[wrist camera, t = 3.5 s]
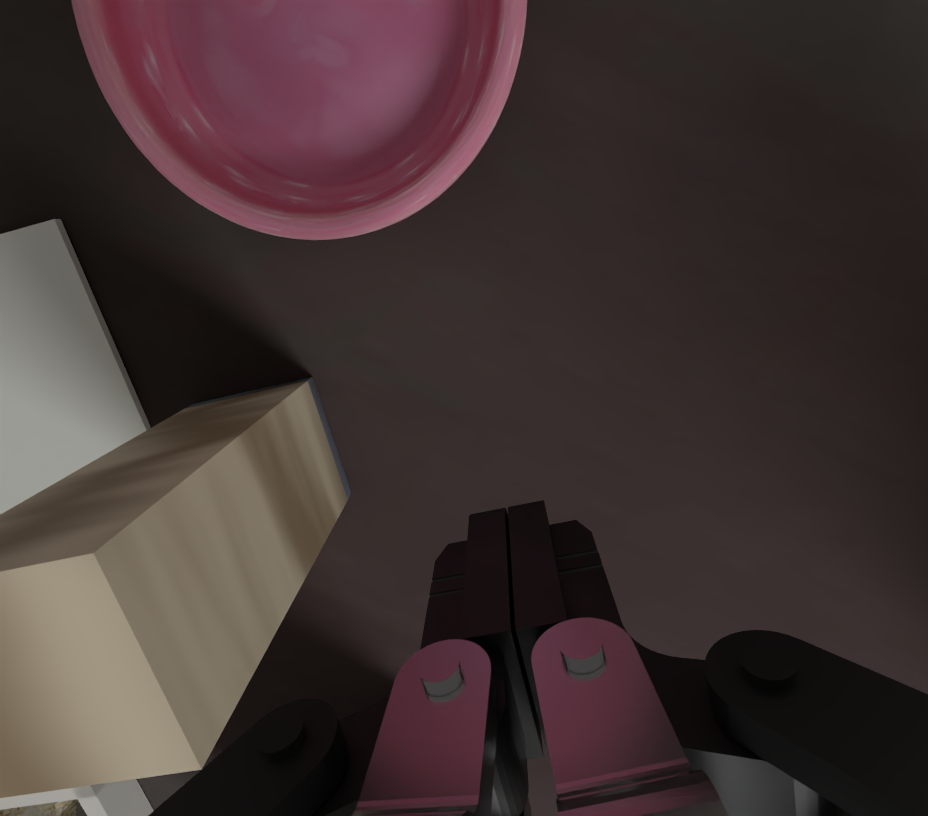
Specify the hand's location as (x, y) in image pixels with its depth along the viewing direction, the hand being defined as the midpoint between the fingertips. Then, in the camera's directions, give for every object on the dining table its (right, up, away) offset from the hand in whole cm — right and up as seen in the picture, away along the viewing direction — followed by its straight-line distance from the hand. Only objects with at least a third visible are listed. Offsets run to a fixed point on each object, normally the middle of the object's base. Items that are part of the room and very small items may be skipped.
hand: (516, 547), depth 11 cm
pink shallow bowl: (-5, +15, +7) cm, 17 cm away
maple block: (-9, +1, +11) cm, 14 cm away
